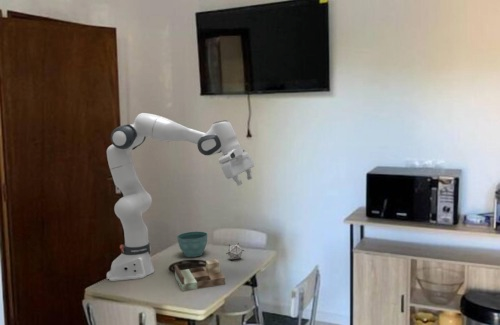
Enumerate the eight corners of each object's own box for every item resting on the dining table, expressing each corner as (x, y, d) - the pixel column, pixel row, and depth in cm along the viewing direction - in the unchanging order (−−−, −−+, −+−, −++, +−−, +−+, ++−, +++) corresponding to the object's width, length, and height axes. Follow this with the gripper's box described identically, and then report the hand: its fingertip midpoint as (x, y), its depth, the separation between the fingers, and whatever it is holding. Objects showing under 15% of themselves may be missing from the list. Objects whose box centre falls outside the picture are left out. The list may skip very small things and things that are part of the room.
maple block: (209, 274, 227) (208, 263, 226) (206, 271, 232) (205, 260, 231) (219, 272, 228) (219, 262, 228) (217, 269, 233) (216, 259, 233)
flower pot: (174, 253, 272) (173, 234, 271) (202, 248, 279) (201, 229, 278) (183, 261, 258) (182, 241, 257) (213, 256, 265) (211, 235, 263)
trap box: (182, 291, 217) (181, 277, 216) (175, 277, 235) (174, 264, 234) (225, 284, 222) (224, 271, 222) (214, 271, 240) (214, 259, 240)
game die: (238, 267, 256) (241, 255, 249) (222, 261, 257) (225, 249, 250) (244, 254, 262) (247, 242, 256) (229, 248, 264) (231, 236, 257)
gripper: (239, 151, 238) (250, 178, 238) (216, 161, 220) (228, 190, 221) (250, 146, 234) (261, 174, 235) (227, 156, 217) (239, 186, 218)
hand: (245, 182), depth 228 cm, fingers open, 8 cm apart
